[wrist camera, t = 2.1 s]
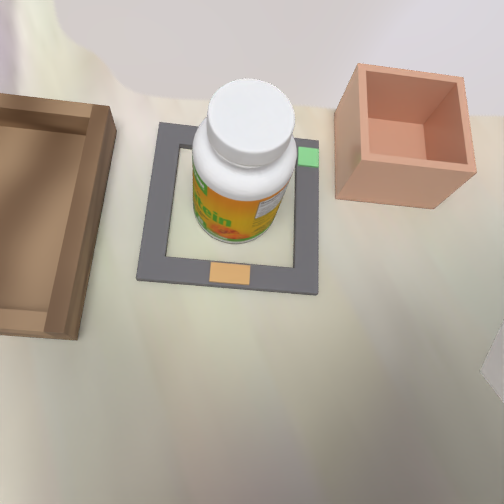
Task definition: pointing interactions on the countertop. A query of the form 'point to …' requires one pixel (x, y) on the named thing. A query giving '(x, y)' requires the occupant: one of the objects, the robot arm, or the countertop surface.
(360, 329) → the countertop surface
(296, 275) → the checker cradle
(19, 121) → the brown rectangular tray
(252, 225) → the supplement bottle
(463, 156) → the pink open box
